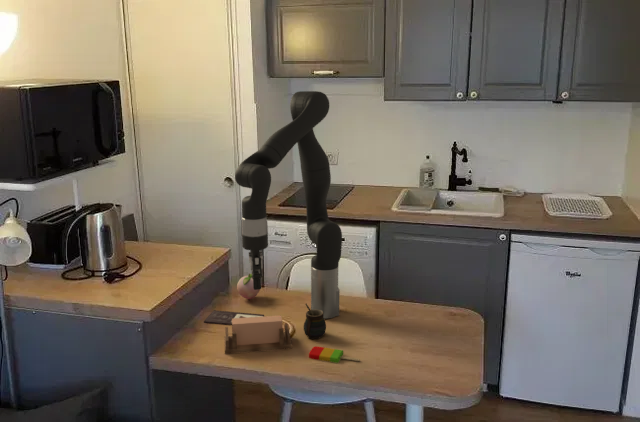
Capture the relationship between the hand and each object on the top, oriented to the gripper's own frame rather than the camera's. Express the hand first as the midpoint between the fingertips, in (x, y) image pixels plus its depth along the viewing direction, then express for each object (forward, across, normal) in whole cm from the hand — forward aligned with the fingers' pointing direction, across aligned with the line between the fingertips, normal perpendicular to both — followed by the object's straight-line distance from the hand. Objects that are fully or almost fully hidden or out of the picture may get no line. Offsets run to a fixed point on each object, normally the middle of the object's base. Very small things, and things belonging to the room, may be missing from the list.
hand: (256, 283), depth 177 cm
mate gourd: (+20, +3, -18) cm, 27 cm away
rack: (+20, 0, 0) cm, 20 cm away
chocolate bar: (+20, +19, +7) cm, 29 cm away
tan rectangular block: (+19, 0, 0) cm, 19 cm away
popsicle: (+21, -12, -22) cm, 32 cm away
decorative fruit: (+20, +35, +1) cm, 40 cm away
